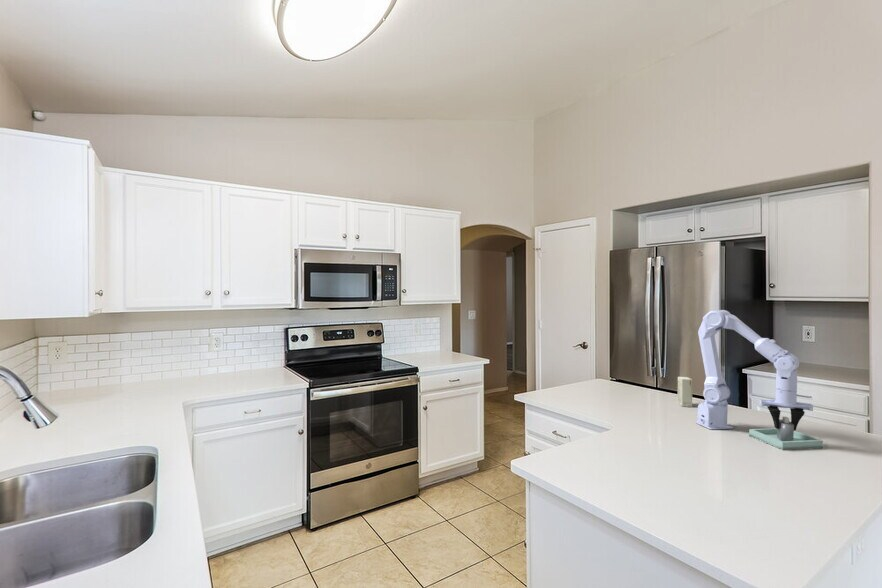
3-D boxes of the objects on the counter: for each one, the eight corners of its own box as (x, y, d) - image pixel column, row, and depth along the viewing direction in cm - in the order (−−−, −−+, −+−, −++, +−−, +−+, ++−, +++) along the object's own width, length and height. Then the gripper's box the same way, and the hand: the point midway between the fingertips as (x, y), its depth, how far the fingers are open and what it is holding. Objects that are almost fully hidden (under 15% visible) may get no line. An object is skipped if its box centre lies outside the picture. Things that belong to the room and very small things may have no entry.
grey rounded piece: (782, 442, 147) (783, 419, 147) (775, 435, 153) (776, 414, 153) (794, 443, 146) (796, 421, 145) (787, 437, 152) (788, 415, 152)
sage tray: (782, 450, 142) (782, 442, 142) (749, 436, 155) (749, 429, 155) (822, 448, 144) (822, 440, 144) (786, 434, 157) (786, 427, 157)
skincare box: (692, 407, 191) (693, 379, 191) (681, 406, 192) (682, 379, 192) (687, 403, 197) (687, 376, 197) (676, 402, 198) (677, 376, 198)
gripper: (807, 389, 150) (806, 428, 150) (757, 385, 155) (756, 422, 156) (816, 393, 144) (815, 434, 144) (763, 389, 149) (762, 428, 149)
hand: (784, 428), depth 149 cm, fingers open, 4 cm apart
